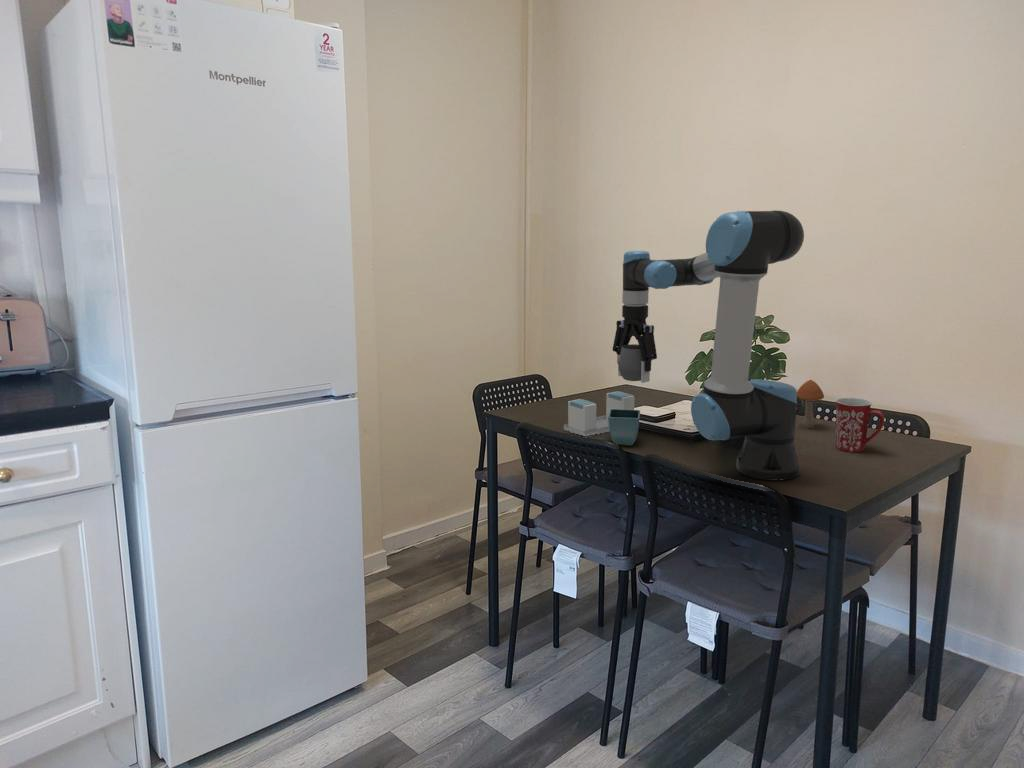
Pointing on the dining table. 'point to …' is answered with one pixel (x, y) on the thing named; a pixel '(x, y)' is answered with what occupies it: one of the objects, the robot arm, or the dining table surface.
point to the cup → (630, 362)
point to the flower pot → (623, 425)
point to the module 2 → (619, 401)
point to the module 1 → (581, 415)
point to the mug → (854, 423)
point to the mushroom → (809, 400)
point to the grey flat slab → (601, 427)
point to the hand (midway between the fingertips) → (633, 378)
